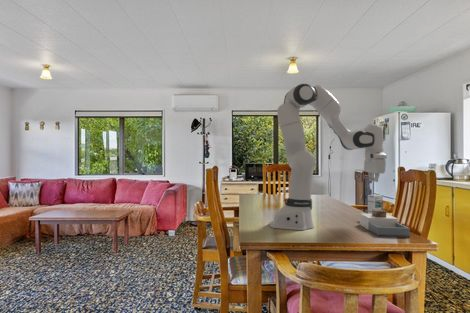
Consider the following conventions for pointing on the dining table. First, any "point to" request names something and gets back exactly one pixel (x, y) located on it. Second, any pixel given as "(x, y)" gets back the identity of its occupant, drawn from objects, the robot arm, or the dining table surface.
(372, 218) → the raised plate
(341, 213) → the dining table surface
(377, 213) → the walnut tile
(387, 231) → the box
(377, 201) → the syrup box
